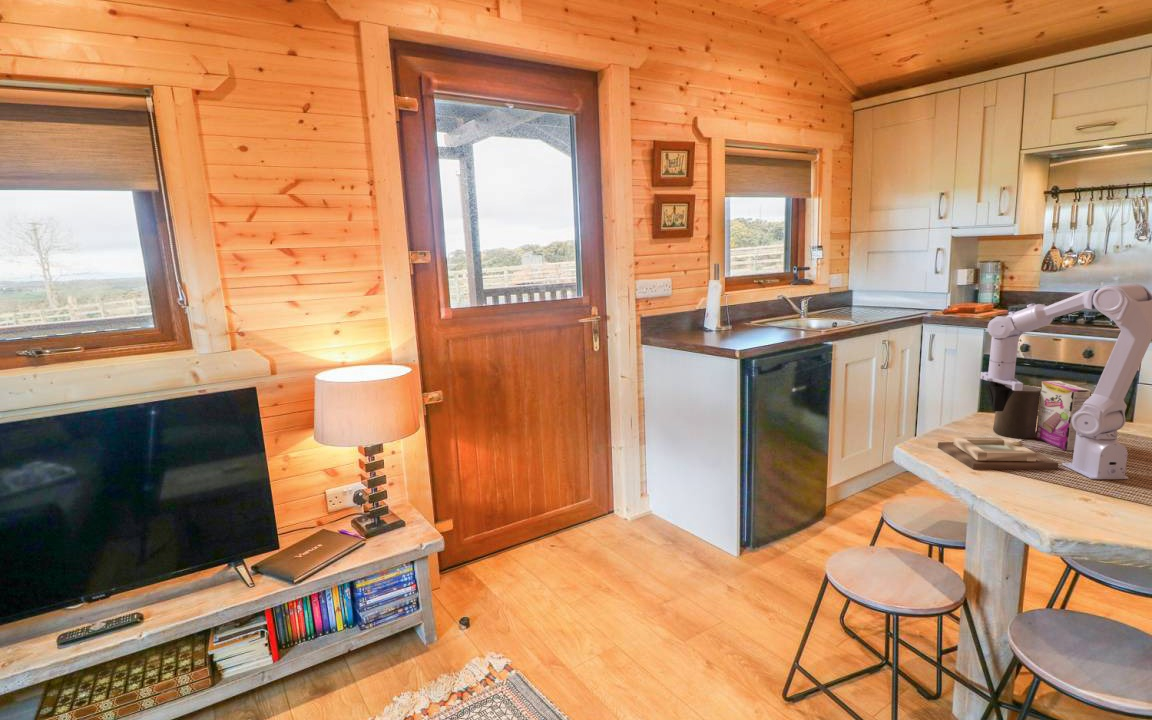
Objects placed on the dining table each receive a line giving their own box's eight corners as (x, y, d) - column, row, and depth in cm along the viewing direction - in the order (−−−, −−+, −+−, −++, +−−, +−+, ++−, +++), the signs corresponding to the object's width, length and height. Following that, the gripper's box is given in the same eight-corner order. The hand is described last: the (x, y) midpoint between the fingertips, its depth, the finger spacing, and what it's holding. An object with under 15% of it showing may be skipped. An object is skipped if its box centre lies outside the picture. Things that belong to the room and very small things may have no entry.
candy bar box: (1033, 438, 163) (1040, 380, 160) (1052, 437, 163) (1059, 380, 160) (1065, 451, 152) (1073, 390, 149) (1085, 451, 152) (1093, 389, 149)
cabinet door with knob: (1035, 461, 141) (1036, 451, 141) (977, 460, 143) (978, 450, 143) (1006, 445, 153) (1007, 435, 152) (953, 444, 155) (954, 435, 154)
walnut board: (1057, 468, 141) (1058, 462, 140) (972, 469, 142) (973, 463, 142) (1013, 447, 156) (1014, 441, 156) (937, 447, 158) (938, 441, 158)
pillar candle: (1016, 440, 162) (1023, 387, 159) (984, 430, 171) (990, 380, 168) (1044, 437, 164) (1051, 385, 161) (1011, 427, 173) (1017, 377, 170)
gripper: (970, 356, 162) (966, 404, 165) (1004, 366, 148) (999, 418, 151) (997, 356, 162) (992, 403, 164) (1033, 366, 148) (1027, 418, 150)
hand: (997, 410), depth 157 cm, fingers closed
